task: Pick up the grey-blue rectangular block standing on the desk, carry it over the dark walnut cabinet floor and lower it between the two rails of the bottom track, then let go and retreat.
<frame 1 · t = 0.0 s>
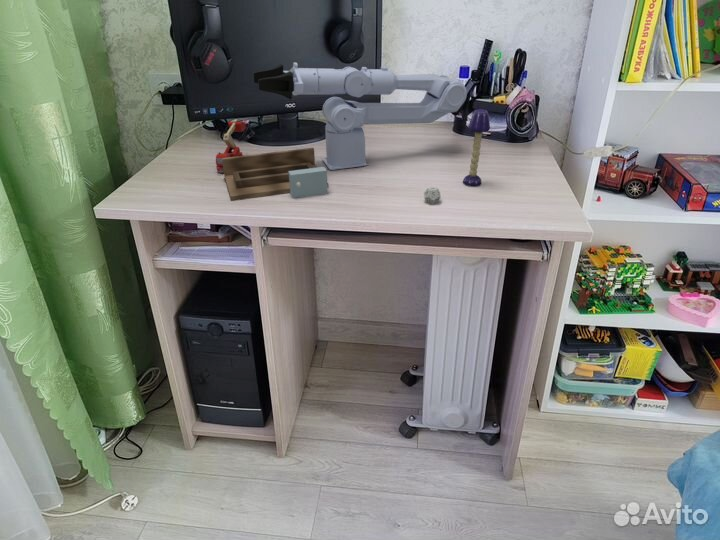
hand: (256, 81, 122), 22 cm above the table, tool horizontal, fingers open, 7 cm apart
track base: (275, 182, 127), on the table
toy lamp: (473, 184, 125), on the table
grey-blue rectangular block: (309, 194, 122), on the table
game die: (431, 202, 117), on the table
toy fire truck: (233, 165, 139), on the table
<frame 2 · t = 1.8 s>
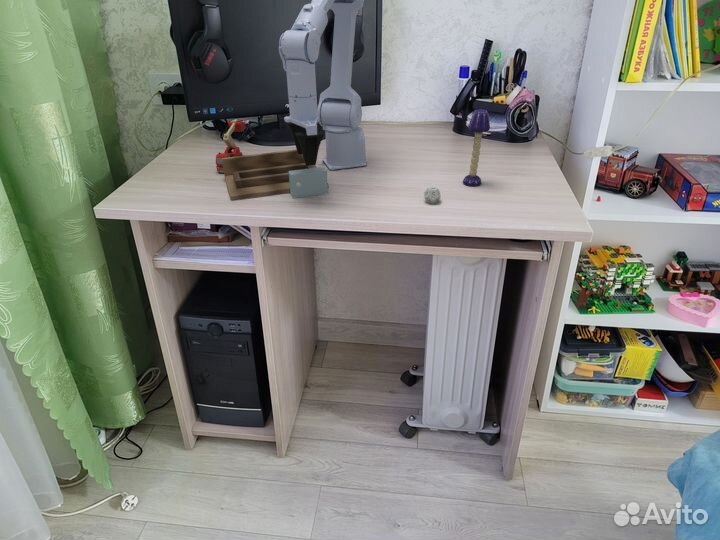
hand: (306, 158, 117), 8 cm above the table, tool pointing down, fingers open, 7 cm apart
nothing on the table moved.
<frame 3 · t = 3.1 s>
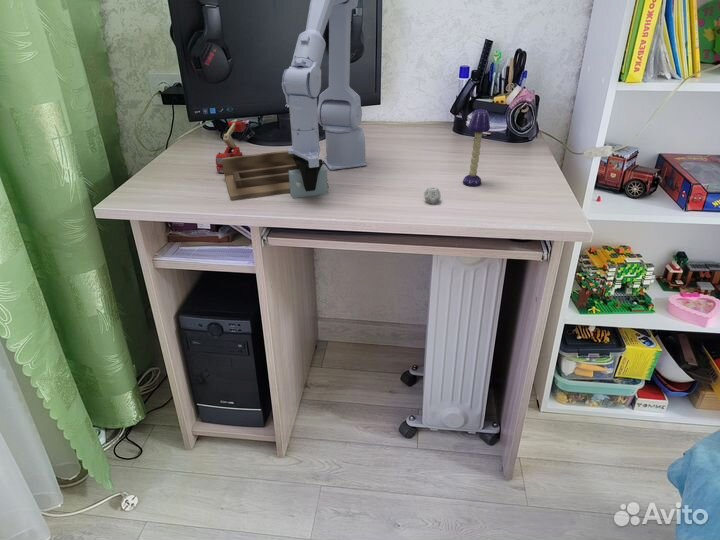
hand: (308, 187, 121), 1 cm above the table, tool pointing down, fingers closed on grey-blue rectangular block, 2 cm apart
grey-blue rectangular block: (309, 193, 122), on the table, touching gripper
everything else where it was.
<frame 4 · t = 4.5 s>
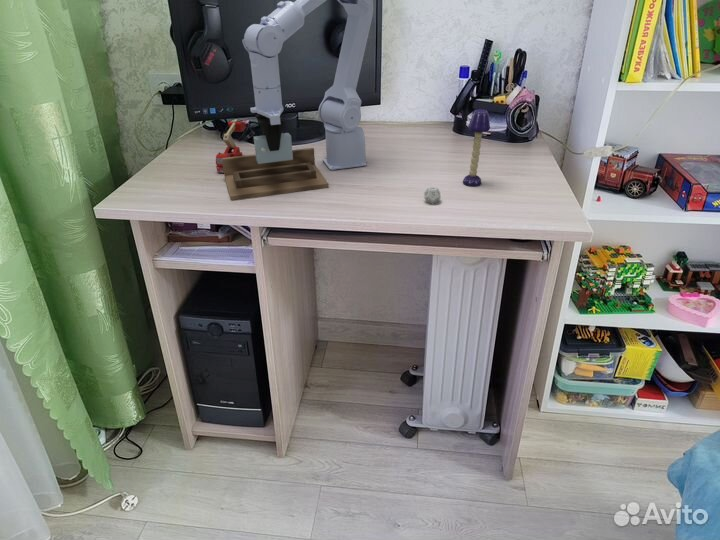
hand: (273, 148, 123), 8 cm above the table, tool pointing down, fingers closed on grey-blue rectangular block, 2 cm apart
grey-blue rectangular block: (274, 159, 124), point 6 cm above the table, touching gripper
everything else where it was.
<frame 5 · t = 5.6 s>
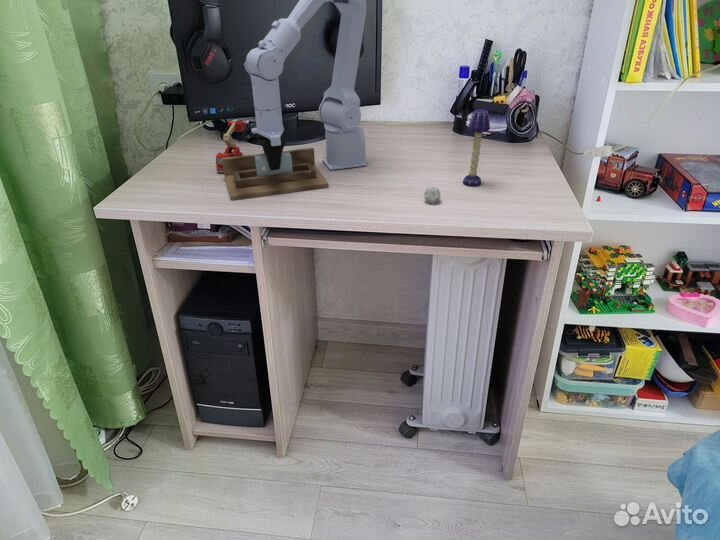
hand: (273, 167, 125), 4 cm above the table, tool pointing down, fingers closed on grey-blue rectangular block, 2 cm apart
grey-blue rectangular block: (275, 178, 127), point 1 cm above the table, touching gripper, track base
everything else where it was.
when the fingers open (3 cm above the table, at t = 6.0 s): grey-blue rectangular block stays where it is, resting on track base.
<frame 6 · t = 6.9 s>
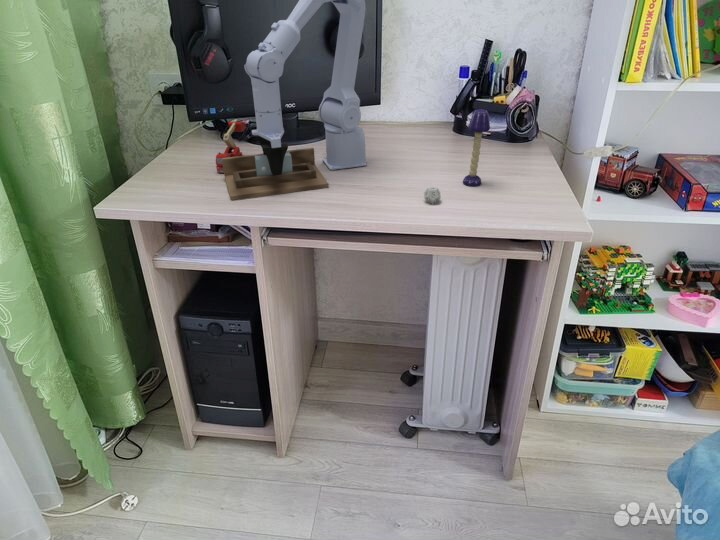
hand: (274, 168, 126), 3 cm above the table, tool pointing down, fingers open, 7 cm apart
grey-blue rectangular block: (275, 178, 127), point 1 cm above the table, touching track base
everything else where it was.
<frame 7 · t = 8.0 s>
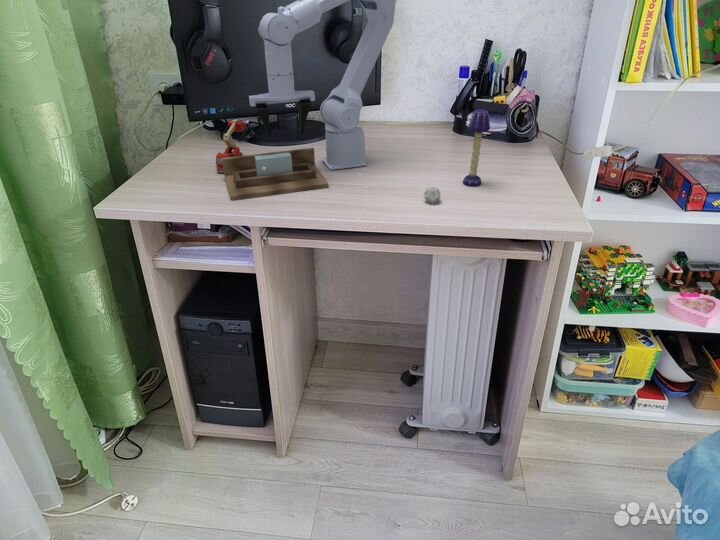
hand: (285, 134, 127), 10 cm above the table, tool pointing down, fingers open, 7 cm apart
nothing on the table moved.
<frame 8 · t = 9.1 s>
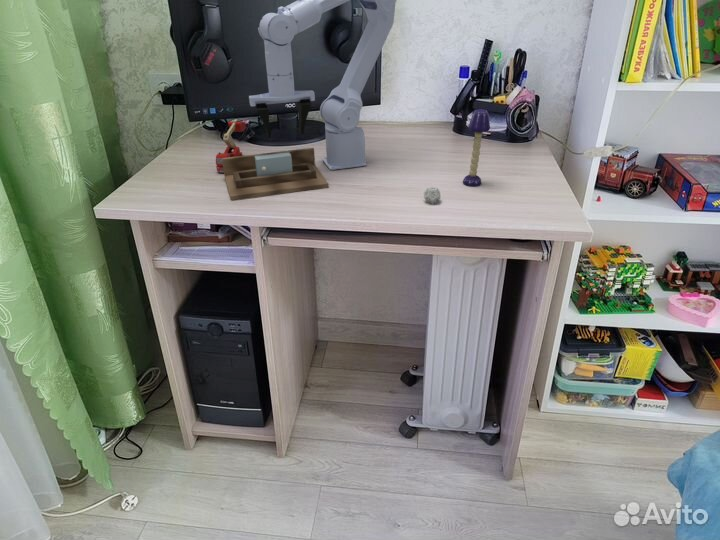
hand: (285, 134, 127), 10 cm above the table, tool pointing down, fingers open, 7 cm apart
nothing on the table moved.
at the end: grey-blue rectangular block inside the target area on the track base (0.0 cm from its centre), point 1.0 cm above the track base's base; grey-blue rectangular block tilted 0°; the gripper is holding nothing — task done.
